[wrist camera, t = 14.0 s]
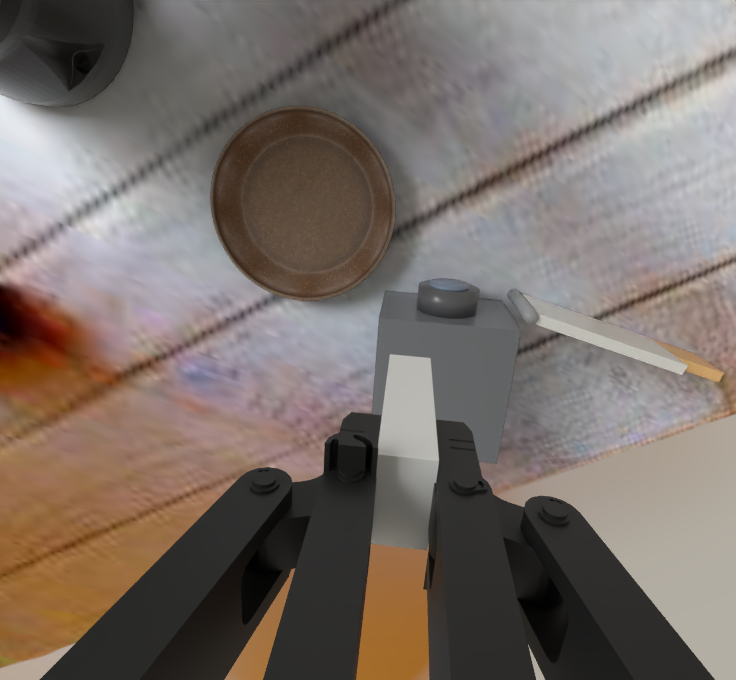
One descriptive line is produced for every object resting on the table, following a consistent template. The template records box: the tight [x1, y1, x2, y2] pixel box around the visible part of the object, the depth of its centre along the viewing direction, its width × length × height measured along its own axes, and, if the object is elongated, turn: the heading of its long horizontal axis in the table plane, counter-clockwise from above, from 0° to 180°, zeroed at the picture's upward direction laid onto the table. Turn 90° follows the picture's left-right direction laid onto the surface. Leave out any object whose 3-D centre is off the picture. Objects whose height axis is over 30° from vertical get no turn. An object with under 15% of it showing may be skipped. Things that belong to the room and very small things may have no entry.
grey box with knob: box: [372, 279, 521, 464], centre depth 39 cm, size 13×10×9 cm
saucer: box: [210, 106, 395, 301], centre depth 39 cm, size 15×15×3 cm
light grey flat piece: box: [508, 289, 724, 382], centre depth 38 cm, size 16×1×7 cm, turn 72°
